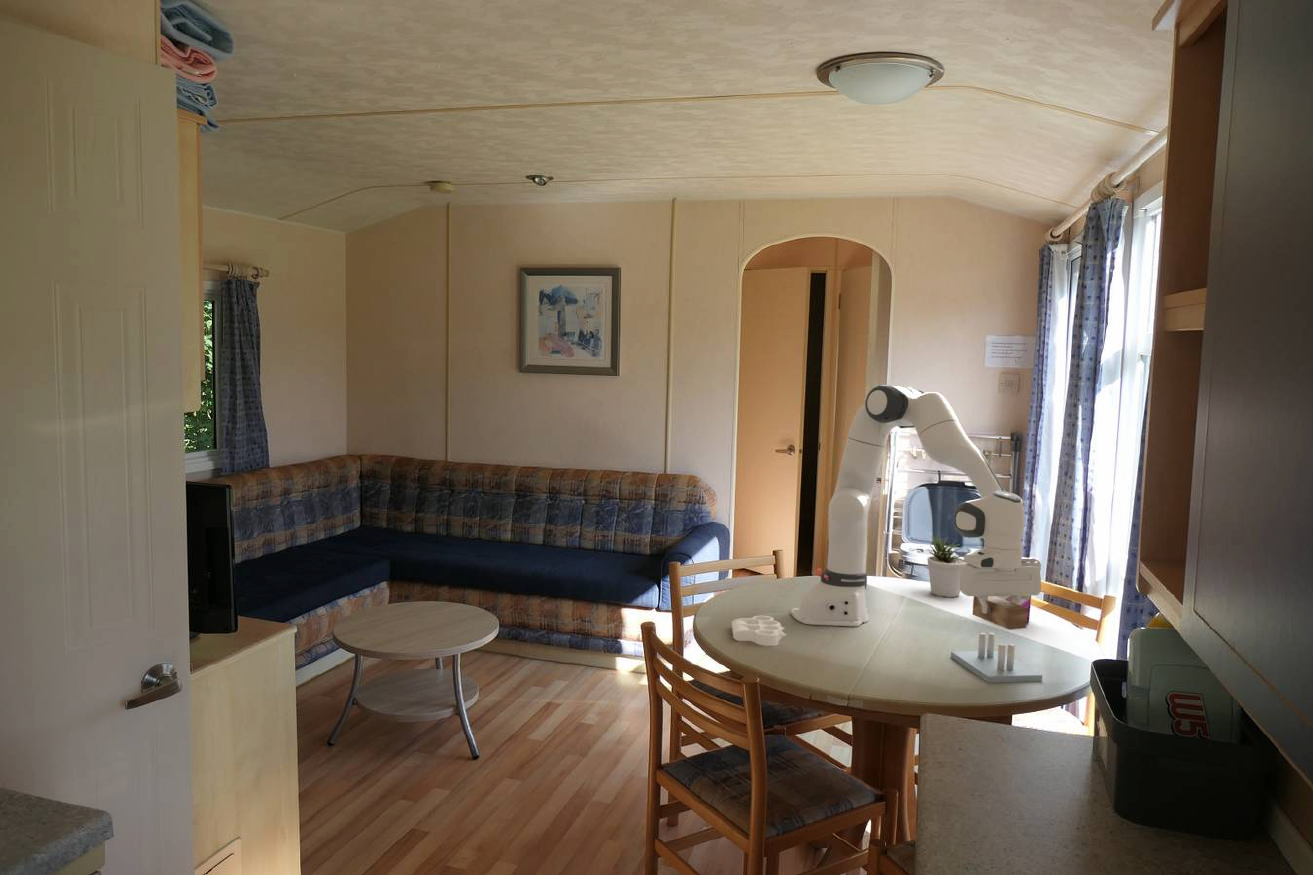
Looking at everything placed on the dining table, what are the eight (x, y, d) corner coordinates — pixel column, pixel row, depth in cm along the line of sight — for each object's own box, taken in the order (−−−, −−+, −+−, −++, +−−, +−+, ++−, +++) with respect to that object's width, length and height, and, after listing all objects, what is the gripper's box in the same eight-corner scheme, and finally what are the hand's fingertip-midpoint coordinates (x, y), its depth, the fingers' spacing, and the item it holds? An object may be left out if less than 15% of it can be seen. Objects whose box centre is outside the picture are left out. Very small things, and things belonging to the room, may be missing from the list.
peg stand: (988, 682, 207) (990, 651, 206) (950, 657, 224) (952, 628, 224) (1042, 681, 209) (1044, 650, 208) (1000, 656, 226) (1002, 628, 226)
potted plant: (962, 590, 294) (966, 532, 293) (967, 600, 281) (971, 539, 279) (923, 587, 297) (927, 529, 295) (926, 597, 284) (930, 536, 282)
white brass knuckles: (730, 625, 247) (782, 628, 246) (733, 646, 229) (789, 648, 228) (731, 614, 247) (782, 616, 246) (734, 633, 229) (790, 636, 228)
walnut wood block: (972, 614, 221) (973, 595, 220) (988, 613, 222) (989, 594, 222) (1009, 629, 209) (1010, 609, 208) (1026, 628, 210) (1027, 607, 210)
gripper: (1033, 554, 219) (1029, 608, 220) (958, 555, 216) (954, 609, 217) (1048, 560, 213) (1044, 615, 214) (971, 561, 210) (967, 617, 211)
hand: (998, 612), depth 215 cm, fingers closed on walnut wood block, 5 cm apart
